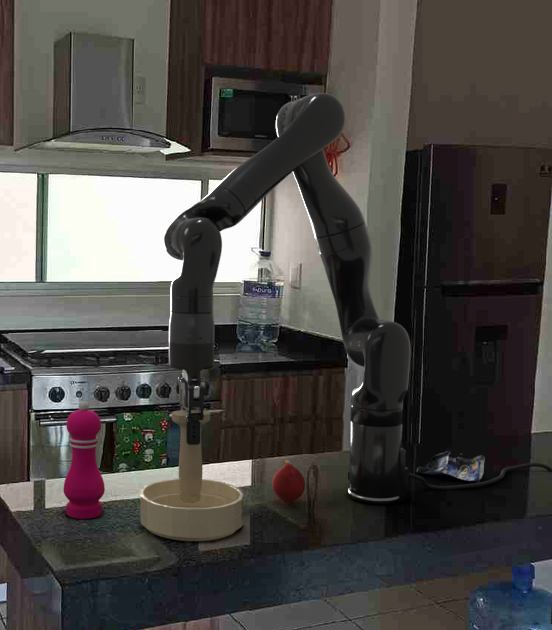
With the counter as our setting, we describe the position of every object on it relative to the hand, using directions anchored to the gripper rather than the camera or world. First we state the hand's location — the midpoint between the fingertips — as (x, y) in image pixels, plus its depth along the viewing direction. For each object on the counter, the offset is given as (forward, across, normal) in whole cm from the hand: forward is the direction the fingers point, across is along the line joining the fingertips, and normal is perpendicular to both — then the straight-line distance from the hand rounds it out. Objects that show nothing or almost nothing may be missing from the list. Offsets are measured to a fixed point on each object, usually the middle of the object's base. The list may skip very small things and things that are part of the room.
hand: (191, 439), depth 138 cm
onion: (+15, +10, -19) cm, 26 cm away
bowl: (+15, 0, 0) cm, 15 cm away
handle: (+11, 0, 0) cm, 11 cm away
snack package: (+15, +26, -56) cm, 64 cm away
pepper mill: (+15, +7, +18) cm, 24 cm away
